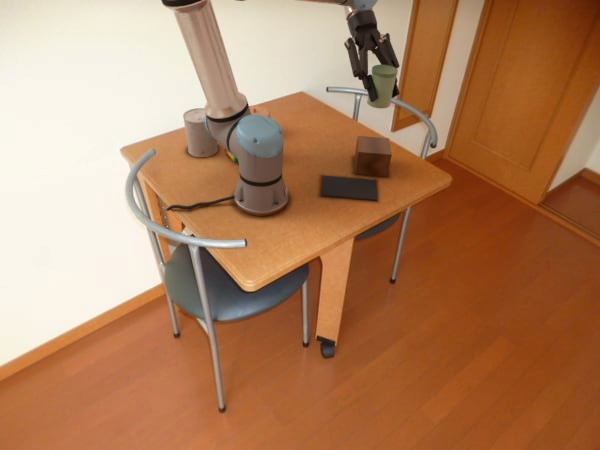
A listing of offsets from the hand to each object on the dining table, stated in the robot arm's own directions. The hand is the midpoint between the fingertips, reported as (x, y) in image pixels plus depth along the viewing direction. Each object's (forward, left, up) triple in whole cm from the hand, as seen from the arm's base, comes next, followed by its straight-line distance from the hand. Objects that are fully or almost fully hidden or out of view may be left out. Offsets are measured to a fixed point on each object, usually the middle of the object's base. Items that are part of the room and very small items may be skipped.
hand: (385, 97), depth 112 cm
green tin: (-1, +2, -3) cm, 3 cm away
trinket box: (-40, +23, -26) cm, 53 cm away
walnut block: (0, +7, -26) cm, 27 cm away
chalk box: (-41, +6, -26) cm, 49 cm away
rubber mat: (-7, -6, -26) cm, 28 cm away
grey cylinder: (-55, +9, -26) cm, 61 cm away
